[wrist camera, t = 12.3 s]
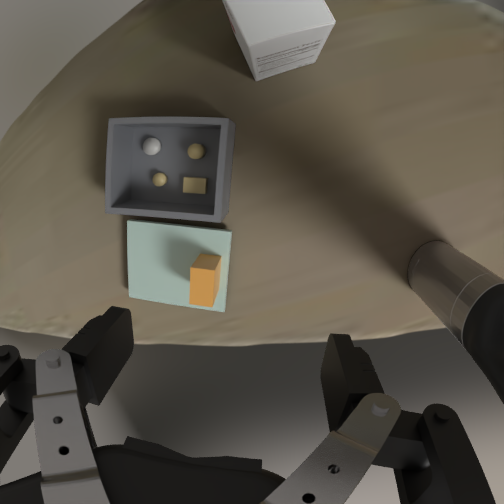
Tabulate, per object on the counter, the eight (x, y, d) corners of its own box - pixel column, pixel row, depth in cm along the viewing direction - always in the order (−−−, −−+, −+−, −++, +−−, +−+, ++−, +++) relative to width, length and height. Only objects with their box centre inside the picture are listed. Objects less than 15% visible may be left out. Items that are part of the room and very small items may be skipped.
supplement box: (231, 30, 35) (212, -22, 21) (291, 11, 34) (299, -45, 20) (254, 83, 38) (245, 47, 23) (317, 63, 36) (338, 21, 22)
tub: (235, 124, 39) (228, 118, 33) (228, 212, 43) (220, 222, 36) (131, 122, 40) (108, 118, 33) (127, 204, 43) (105, 213, 37)
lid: (233, 228, 44) (225, 243, 37) (226, 305, 48) (218, 331, 40) (133, 217, 44) (109, 229, 37) (134, 291, 48) (114, 313, 41)
